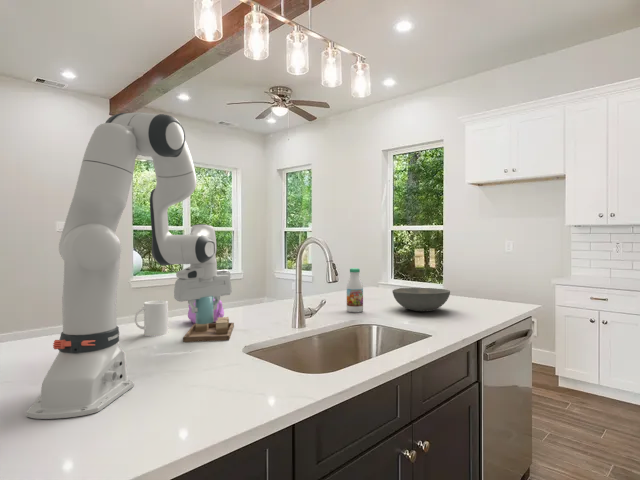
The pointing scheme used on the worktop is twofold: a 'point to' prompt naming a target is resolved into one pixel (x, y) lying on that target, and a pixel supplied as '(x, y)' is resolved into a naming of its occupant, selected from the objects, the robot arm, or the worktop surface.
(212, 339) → the walnut tray
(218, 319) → the oak block
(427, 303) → the bowl
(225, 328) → the oak block
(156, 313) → the mug
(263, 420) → the worktop surface
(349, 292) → the milk bottle
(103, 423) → the worktop surface
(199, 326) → the oak block
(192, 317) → the teapot
